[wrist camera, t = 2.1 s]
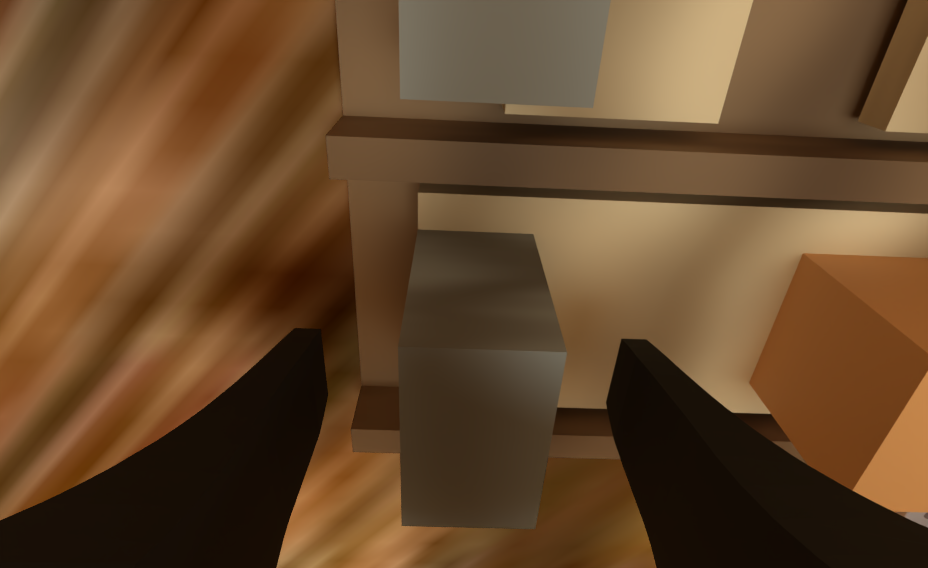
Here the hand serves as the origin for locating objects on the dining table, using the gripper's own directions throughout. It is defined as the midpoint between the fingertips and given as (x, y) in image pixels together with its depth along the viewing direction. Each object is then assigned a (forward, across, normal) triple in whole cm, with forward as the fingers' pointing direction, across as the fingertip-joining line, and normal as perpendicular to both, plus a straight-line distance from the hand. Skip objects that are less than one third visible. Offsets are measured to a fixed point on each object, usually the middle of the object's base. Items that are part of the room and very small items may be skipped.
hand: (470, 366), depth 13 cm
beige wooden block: (+4, -7, 0) cm, 8 cm away
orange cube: (+2, -11, 0) cm, 11 cm away
